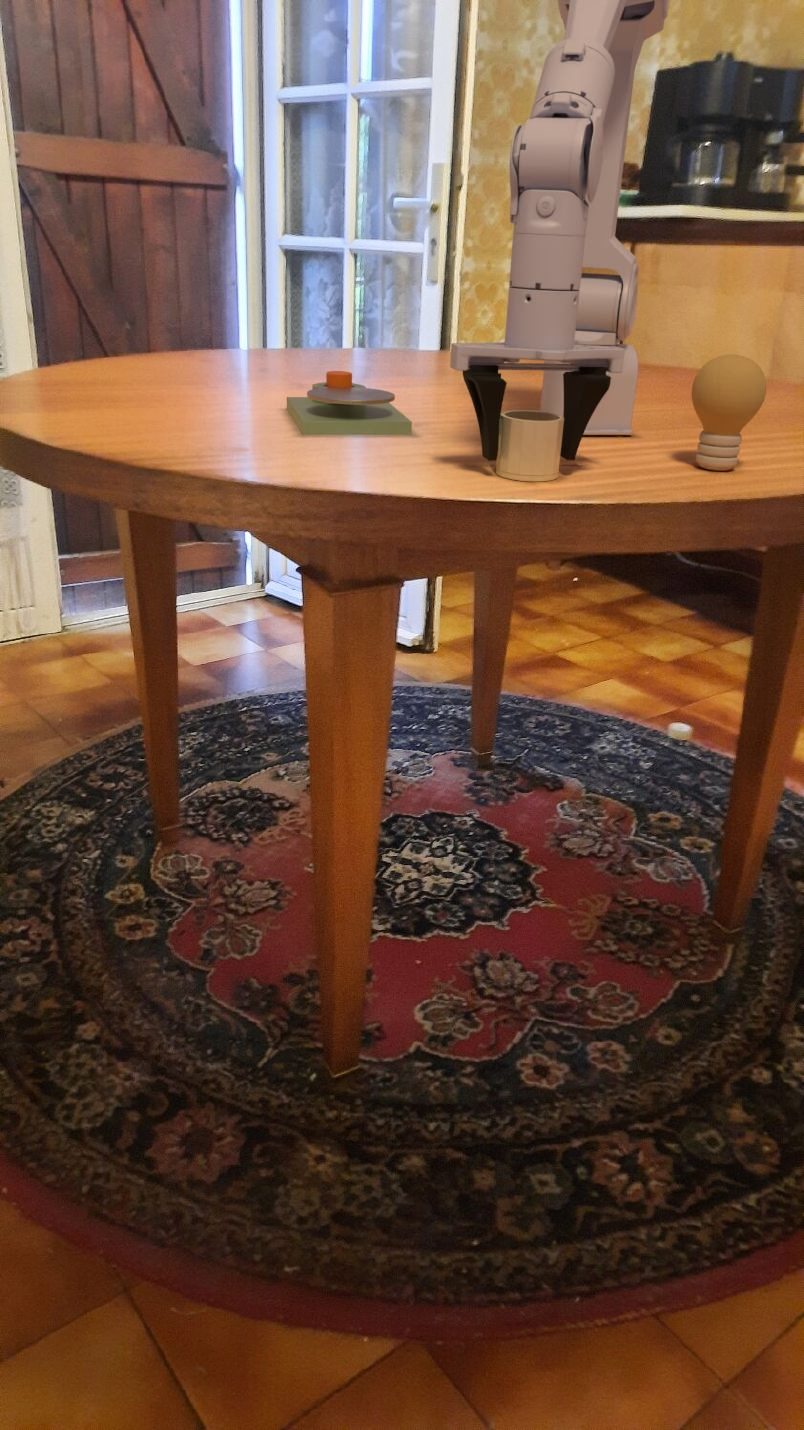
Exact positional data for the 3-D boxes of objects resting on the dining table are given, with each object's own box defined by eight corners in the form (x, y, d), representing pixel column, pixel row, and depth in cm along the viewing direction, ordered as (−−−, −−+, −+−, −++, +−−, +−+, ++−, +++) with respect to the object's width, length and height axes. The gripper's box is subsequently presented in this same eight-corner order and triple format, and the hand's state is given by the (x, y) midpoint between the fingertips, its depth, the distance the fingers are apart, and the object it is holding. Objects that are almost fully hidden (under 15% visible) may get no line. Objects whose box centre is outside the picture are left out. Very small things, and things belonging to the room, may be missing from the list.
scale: (286, 409, 114) (286, 381, 113) (382, 410, 116) (383, 382, 115) (302, 435, 101) (302, 404, 99) (411, 435, 103) (412, 405, 102)
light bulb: (740, 479, 90) (762, 361, 86) (670, 468, 93) (688, 354, 89) (758, 467, 95) (780, 355, 91) (691, 458, 98) (709, 348, 94)
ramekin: (546, 467, 92) (551, 410, 90) (566, 481, 87) (573, 421, 85) (488, 468, 91) (493, 410, 88) (506, 482, 86) (511, 421, 84)
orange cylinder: (324, 387, 113) (324, 370, 112) (349, 387, 113) (349, 371, 112) (328, 391, 110) (328, 374, 109) (353, 391, 111) (354, 374, 110)
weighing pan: (385, 391, 109) (385, 387, 109) (402, 405, 101) (403, 401, 101) (302, 390, 107) (301, 386, 107) (312, 404, 100) (313, 400, 99)
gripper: (471, 289, 77) (459, 468, 83) (648, 294, 80) (624, 467, 86) (448, 283, 84) (438, 451, 89) (613, 288, 86) (593, 450, 92)
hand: (528, 458), depth 88 cm, fingers open, 6 cm apart
